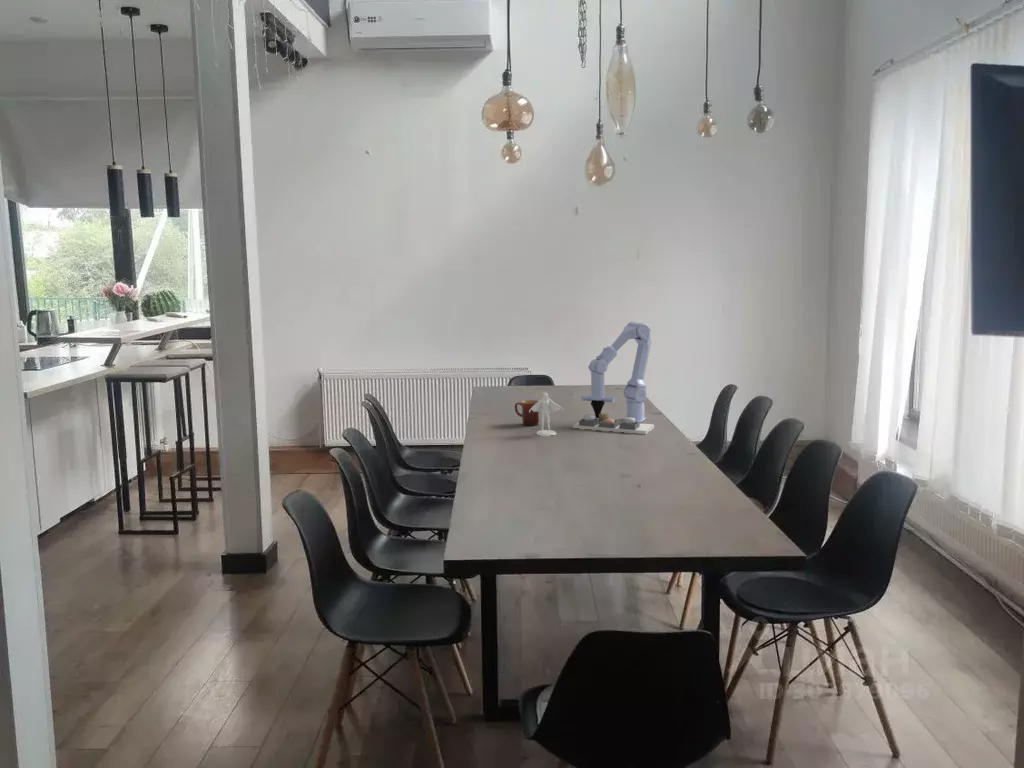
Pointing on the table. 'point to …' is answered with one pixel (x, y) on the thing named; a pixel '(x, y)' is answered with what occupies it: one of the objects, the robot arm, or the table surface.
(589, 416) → the grey button
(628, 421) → the grey button
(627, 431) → the panel
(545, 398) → the figurine
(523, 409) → the mug
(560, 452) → the table surface
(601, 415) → the brass slider
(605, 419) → the terracotta button
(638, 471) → the table surface
